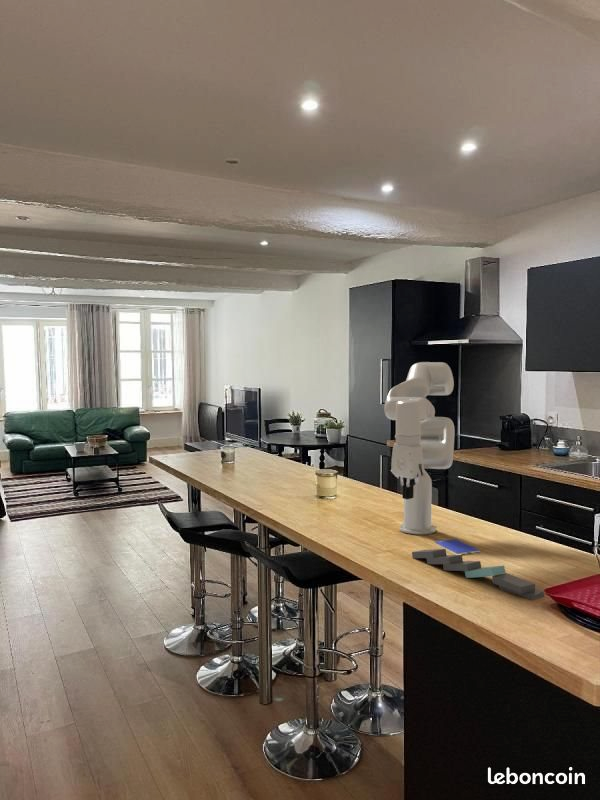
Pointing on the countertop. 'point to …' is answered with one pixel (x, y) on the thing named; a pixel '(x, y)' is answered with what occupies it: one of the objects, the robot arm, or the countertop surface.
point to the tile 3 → (463, 566)
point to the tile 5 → (513, 583)
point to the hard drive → (456, 546)
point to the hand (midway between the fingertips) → (408, 498)
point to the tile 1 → (429, 553)
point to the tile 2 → (445, 559)
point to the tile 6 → (529, 595)
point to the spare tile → (485, 571)
